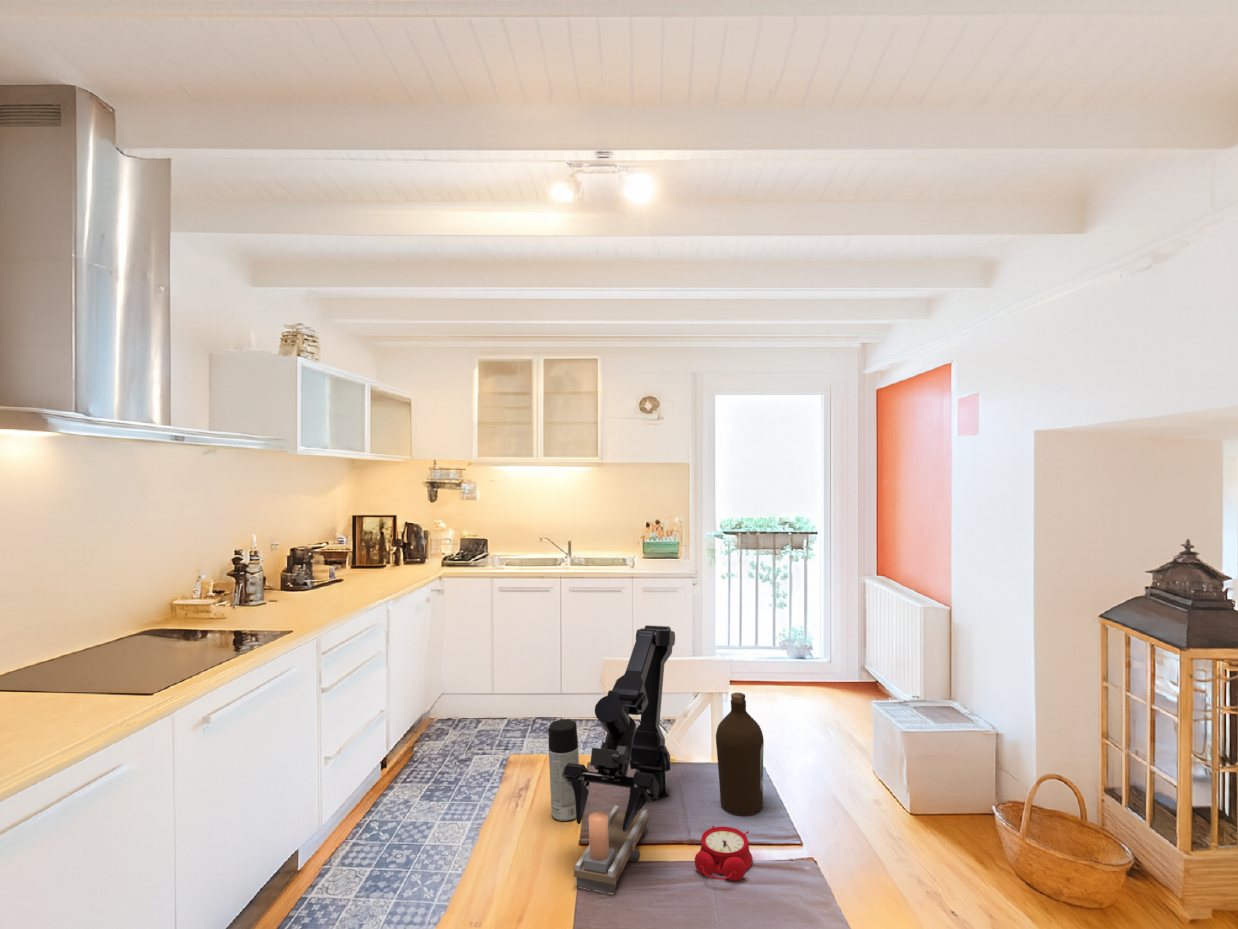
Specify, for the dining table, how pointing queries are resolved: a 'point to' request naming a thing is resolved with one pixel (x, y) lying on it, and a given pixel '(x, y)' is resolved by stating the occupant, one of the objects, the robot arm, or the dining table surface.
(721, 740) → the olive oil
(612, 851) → the rider
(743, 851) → the alarm clock
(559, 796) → the spray can
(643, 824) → the brown piece
